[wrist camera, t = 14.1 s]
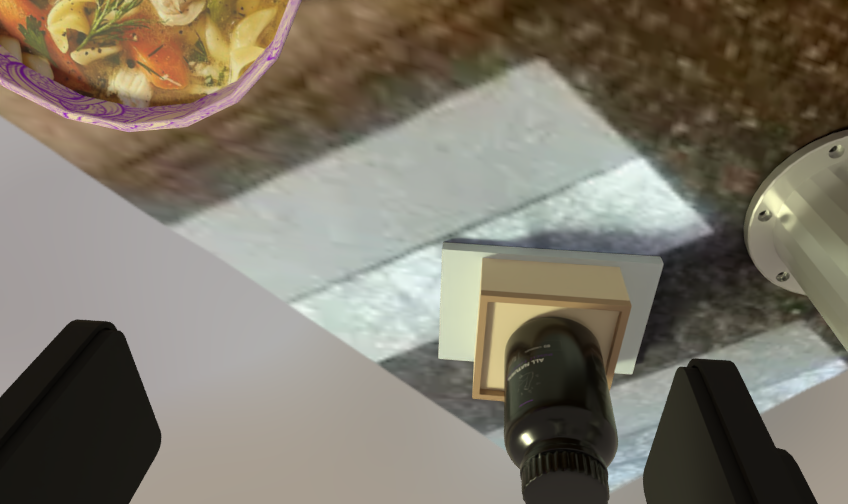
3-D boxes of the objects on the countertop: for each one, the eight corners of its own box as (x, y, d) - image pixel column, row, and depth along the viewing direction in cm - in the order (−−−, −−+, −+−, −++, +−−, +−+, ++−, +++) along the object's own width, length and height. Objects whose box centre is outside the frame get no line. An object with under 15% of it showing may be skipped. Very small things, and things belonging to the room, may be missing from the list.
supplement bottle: (515, 304, 41) (521, 446, 31) (612, 322, 41) (650, 470, 31) (493, 374, 44) (493, 520, 34) (582, 390, 44) (607, 542, 34)
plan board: (660, 256, 43) (680, 303, 38) (629, 365, 49) (643, 417, 44) (443, 242, 44) (436, 286, 40) (439, 350, 50) (433, 399, 46)
